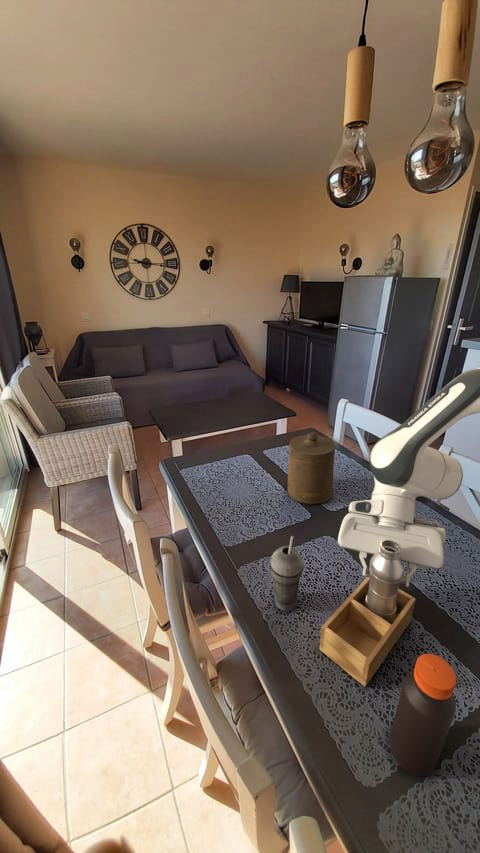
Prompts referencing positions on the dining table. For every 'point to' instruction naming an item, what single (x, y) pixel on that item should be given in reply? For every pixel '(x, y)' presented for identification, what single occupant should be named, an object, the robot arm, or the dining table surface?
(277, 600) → the beverage cup
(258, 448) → the dining table surface
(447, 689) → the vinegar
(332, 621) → the divided wooden box
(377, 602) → the silver metal bottle
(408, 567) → the robot arm
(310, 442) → the wooden container
